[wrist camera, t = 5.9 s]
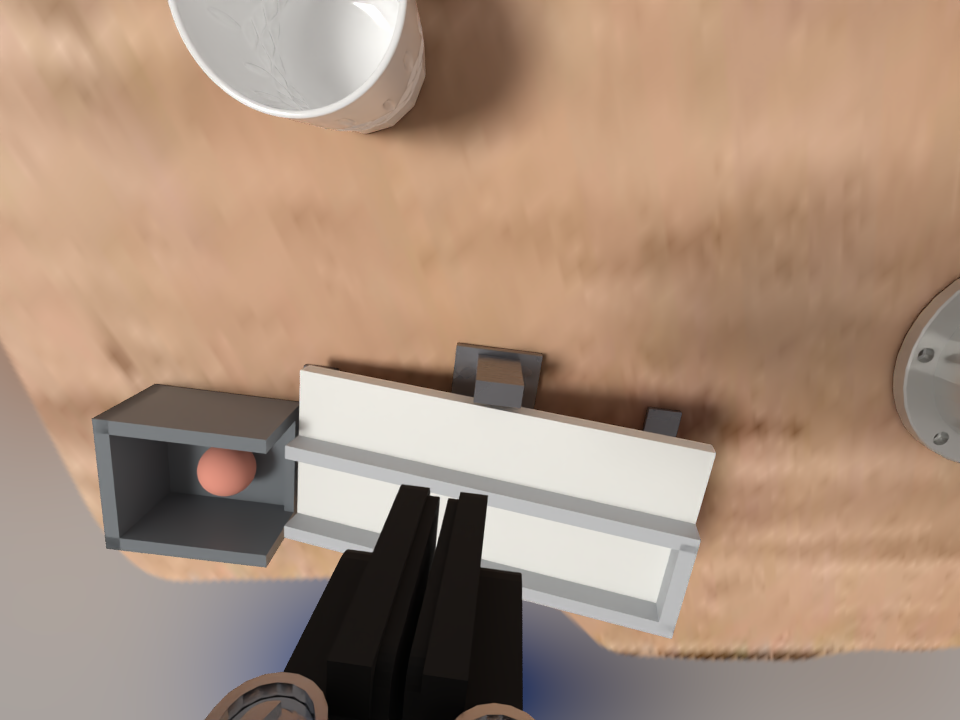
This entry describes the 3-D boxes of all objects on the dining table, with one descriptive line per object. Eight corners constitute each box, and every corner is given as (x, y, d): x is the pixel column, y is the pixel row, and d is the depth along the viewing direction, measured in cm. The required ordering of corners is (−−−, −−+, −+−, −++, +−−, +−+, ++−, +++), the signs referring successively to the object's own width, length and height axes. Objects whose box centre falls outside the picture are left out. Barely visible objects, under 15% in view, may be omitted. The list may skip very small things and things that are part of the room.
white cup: (362, -71, 24) (280, -241, 15) (470, 72, 26) (457, 0, 17) (250, 51, 26) (111, -33, 17) (358, 178, 28) (288, 168, 18)
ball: (186, 442, 30) (240, 428, 33) (188, 489, 31) (241, 472, 34) (210, 464, 28) (266, 447, 31) (212, 514, 29) (266, 494, 32)
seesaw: (711, 444, 26) (722, 466, 24) (665, 605, 29) (671, 638, 27) (309, 364, 30) (285, 377, 27) (305, 514, 33) (283, 537, 30)
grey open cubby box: (301, 402, 32) (266, 440, 27) (299, 513, 34) (266, 567, 29) (154, 384, 32) (91, 418, 27) (162, 497, 34) (106, 548, 29)
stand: (690, 372, 31) (728, 405, 26) (639, 567, 35) (663, 628, 30) (306, 323, 30) (269, 348, 25) (301, 526, 34) (269, 582, 30)
